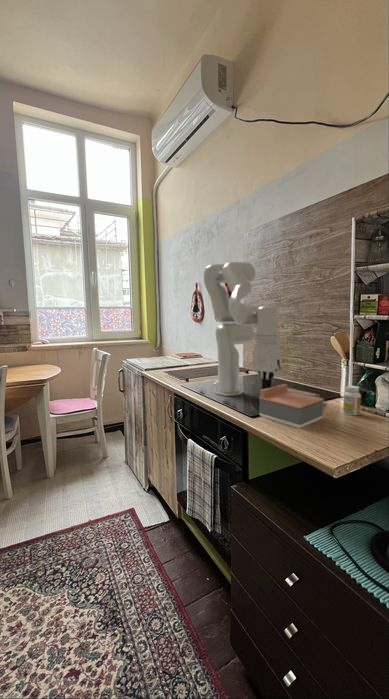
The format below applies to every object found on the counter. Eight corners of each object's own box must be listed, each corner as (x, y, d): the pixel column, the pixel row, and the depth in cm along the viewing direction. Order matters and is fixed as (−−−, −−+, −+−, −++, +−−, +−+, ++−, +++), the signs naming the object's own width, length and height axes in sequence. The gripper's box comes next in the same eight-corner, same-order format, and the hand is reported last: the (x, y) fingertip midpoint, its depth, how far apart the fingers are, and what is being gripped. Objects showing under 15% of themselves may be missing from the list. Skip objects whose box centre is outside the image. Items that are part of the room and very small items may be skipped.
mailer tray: (259, 415, 110) (259, 399, 109) (282, 407, 119) (283, 392, 118) (299, 428, 98) (300, 409, 97) (322, 418, 107) (323, 401, 106)
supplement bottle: (355, 410, 114) (356, 385, 113) (362, 415, 109) (364, 388, 108) (340, 410, 114) (341, 385, 113) (347, 415, 109) (348, 388, 108)
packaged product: (273, 389, 131) (287, 385, 137) (273, 400, 131) (286, 396, 137) (313, 397, 117) (326, 392, 123) (313, 409, 117) (326, 404, 124)
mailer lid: (259, 398, 109) (259, 389, 109) (283, 391, 118) (283, 383, 118) (299, 408, 97) (299, 399, 97) (323, 400, 106) (323, 391, 106)
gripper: (244, 339, 117) (244, 387, 119) (278, 341, 105) (277, 394, 107) (257, 338, 121) (257, 384, 123) (290, 340, 110) (289, 391, 112)
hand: (266, 389), depth 115 cm, fingers closed
